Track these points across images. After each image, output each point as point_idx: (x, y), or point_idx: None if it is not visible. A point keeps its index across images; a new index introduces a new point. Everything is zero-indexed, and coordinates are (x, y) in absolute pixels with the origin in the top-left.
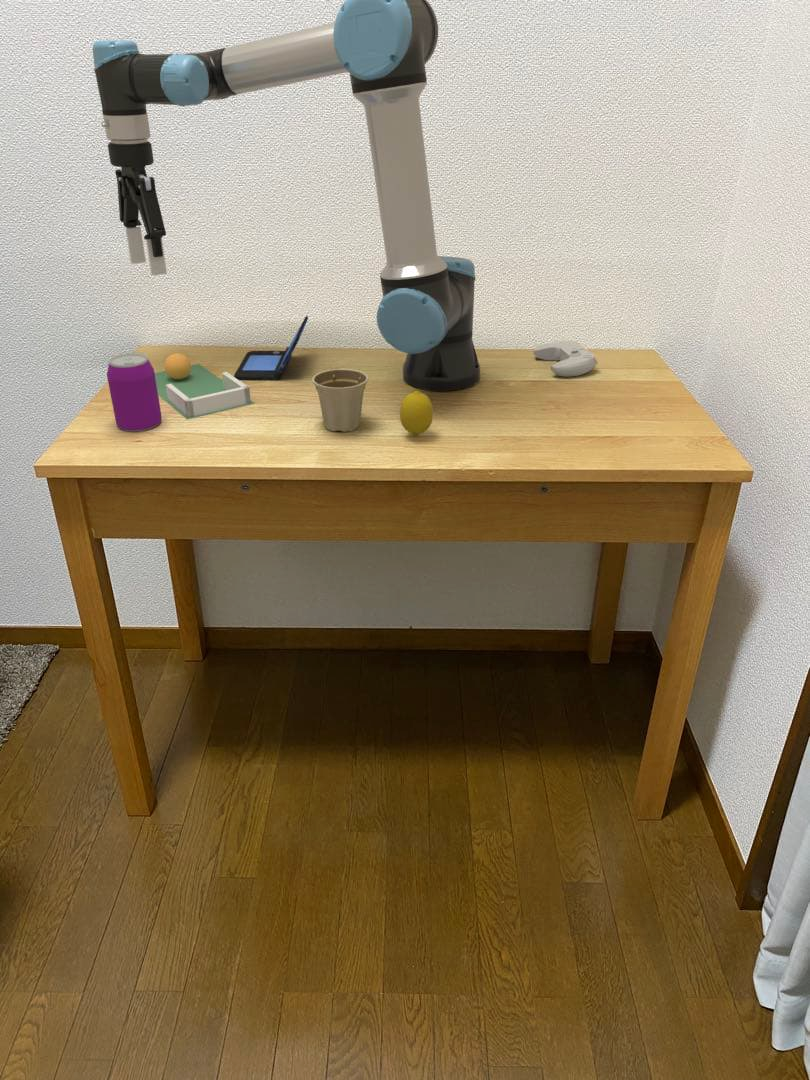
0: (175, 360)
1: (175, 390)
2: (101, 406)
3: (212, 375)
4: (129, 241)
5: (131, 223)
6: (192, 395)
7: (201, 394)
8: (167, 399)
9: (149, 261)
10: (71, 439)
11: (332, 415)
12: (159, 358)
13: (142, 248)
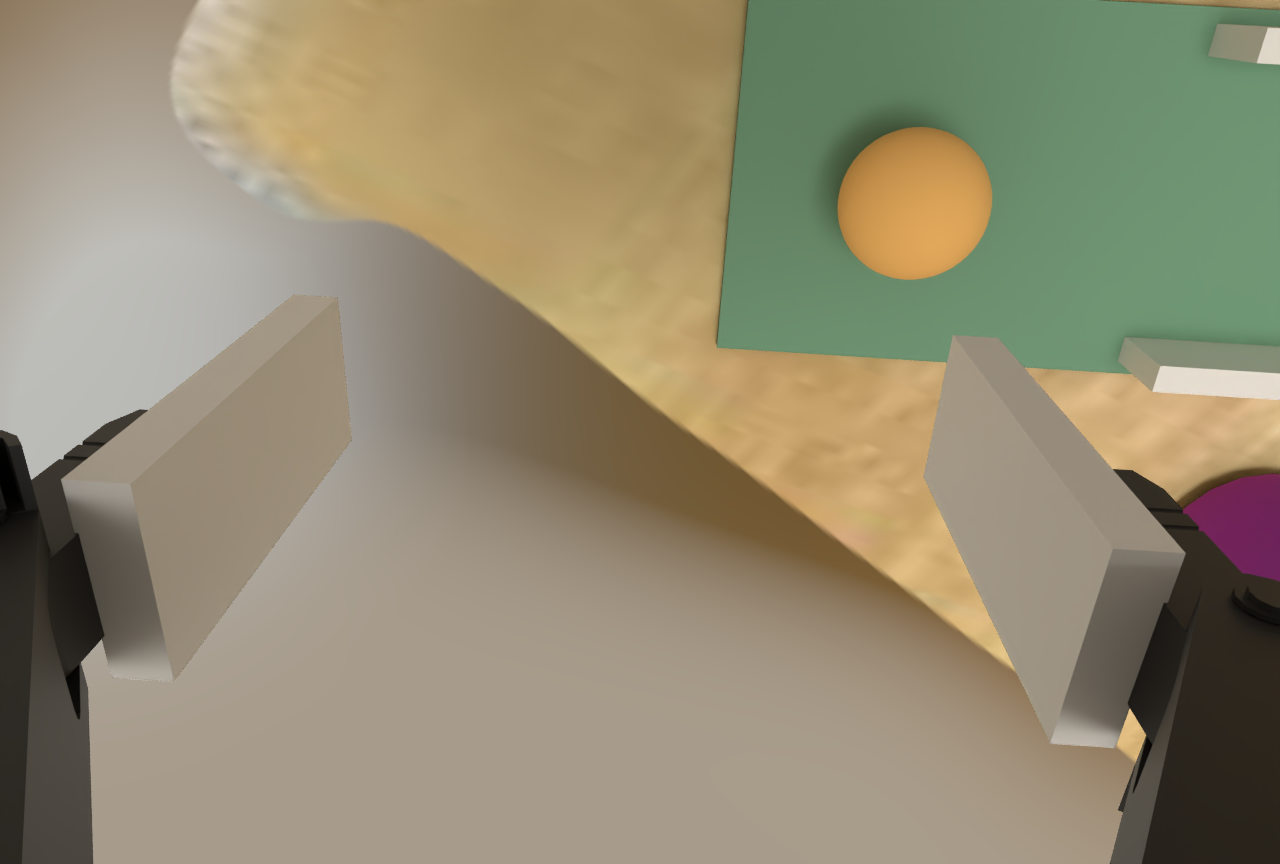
0: (967, 244)
1: (1263, 388)
2: (929, 575)
3: (987, 9)
4: (255, 564)
5: (52, 630)
6: (1162, 244)
7: (1187, 200)
8: (1106, 358)
9: (963, 550)
10: (1139, 742)
11: None
12: (483, 121)
13: (275, 368)
